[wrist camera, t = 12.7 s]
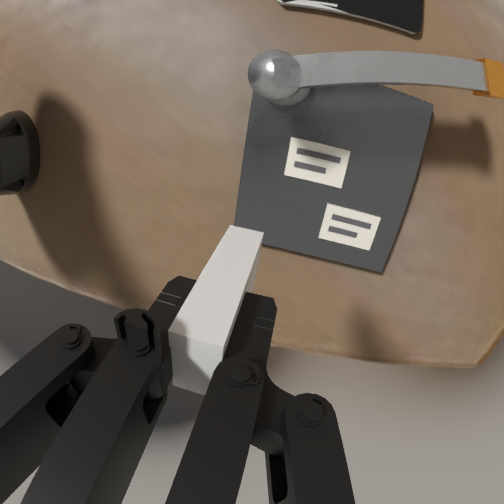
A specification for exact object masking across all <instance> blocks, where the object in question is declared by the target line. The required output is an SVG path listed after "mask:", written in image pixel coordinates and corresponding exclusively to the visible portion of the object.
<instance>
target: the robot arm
mask: <svg viewBox="0 0 504 504" xmlns="http://www.w3.org/2000/svg"><path fill="white" fill-rule="evenodd" d="M38 168H39V144H38V138H37V134H36V131H35V128H34V125H33V123H32V121H31V119H30V118H29V117H28V115H27V114H26V113H24V112H22V111H19V110H17V111H13V112H9V113H6V114H4V115H2V116H1V117H0V195H10V194H18V193H21V192H23V191H25V190H27V189H29V188H30V187H31V186H32V185H33V183H34V182H35V179H36V177H37V173H38ZM263 235H264V233H263V232H259V231H255V230H250V229H246V228H241V227H236V226H232V225H230V226H229V228H228V230H227V231H226V233H225V235H224V236H223V238H222V240H221V241H220V243H219V245H218V246H217V248H216V250H215V251H214V253H213V255H212V256H211V258H210V260H209V261H208V263H207V265H206V266H205V268H204V270H203V271H202V273H201V275H200V276H199V278H198V280H193V279H190V278H186V277H182V276H177V277H176V278H174V279H173V280H171V281H169V282H168V283H167V285H166V286H165V287H164V289H163V290H162V293H160V295H159V296H158V297H157V300H156V301H155V302H154V303H153V305H152V306H151V308H150V309H149V310H148V311H147V310H144V309H138V308H135V309H127V310H125V311H122V312H120V313H119V314H118V315H117V316H115V317H114V322H115V326H116V330H117V335H118V338H117V339H107V338H97V337H91V334H90V332H89V331H88V329H87V328H86V327H84V326H82V325H80V324H73V323H72V324H67V325H64V326H62V327H61V328H59V329H57V330H56V331H55V332H54V333H52V334H51V335H50V336H49V337H47V338H46V339H45V340H44V341H42V342H41V343H40V344H39V345H37V346H36V347H35V348H34V349H33V350H31V351H30V352H29V353H27V354H26V355H25V356H24V357H23V358H21V359H20V360H19V361H18V362H17V363H15V364H14V365H13V366H12V367H11V368H10V369H8V370H7V371H6V372H5V373H4V374H2V375H1V376H0V504H2V503H3V502H4V501H5V500H6V499H7V498H8V497H9V496H10V495H11V494H12V493H13V492H14V491H15V490H16V489H17V488H18V487H19V486H20V485H21V484H22V483H23V482H24V481H25V480H26V479H27V478H28V477H29V476H30V475H31V474H32V473H33V472H34V471H35V470H36V469H37V467H39V468H38V470H37V472H36V474H35V476H34V478H33V480H32V482H31V484H30V486H29V488H28V489H27V492H26V494H25V495H24V498H23V500H22V502H21V504H121V503H122V500H123V498H124V496H125V494H126V491H127V489H128V487H129V484H130V482H131V479H132V477H133V475H134V473H135V470H136V468H137V466H138V463H139V461H140V459H141V456H142V454H143V452H144V449H145V447H146V445H147V443H148V440H149V438H150V436H151V434H152V431H153V429H154V427H155V424H156V422H157V420H158V418H159V415H160V413H161V411H162V409H163V406H164V404H165V402H166V400H167V394H168V393H167V387H168V385H169V383H170V381H171V379H172V382H173V386H177V387H180V388H183V389H186V390H189V391H192V392H195V393H199V394H202V395H205V397H204V400H203V402H202V405H201V408H200V410H199V413H198V416H197V419H196V422H195V424H194V427H193V430H192V432H191V435H190V438H189V440H188V443H187V446H186V449H185V452H184V454H183V457H182V460H181V462H180V465H179V468H178V470H177V473H176V476H175V478H174V481H173V484H172V487H171V489H170V492H169V495H168V497H167V500H166V503H165V504H235V503H236V499H237V495H238V491H239V488H240V484H241V480H242V476H243V472H244V468H245V464H246V459H247V455H248V451H249V447H250V444H251V445H253V446H255V447H257V448H259V449H261V450H263V451H264V452H265V458H266V470H267V482H268V495H269V504H355V500H354V495H353V491H352V486H351V480H350V476H349V471H348V467H347V462H346V457H345V453H344V448H343V444H342V439H341V435H340V431H339V427H338V422H337V418H336V414H335V411H334V409H333V407H332V405H331V404H330V403H329V402H328V401H327V400H326V399H325V398H323V397H321V396H319V395H317V394H311V393H304V394H299V395H297V396H293V395H291V394H289V393H287V392H285V391H283V390H282V389H280V388H279V387H277V386H276V385H275V384H274V383H273V382H272V381H271V380H270V378H269V376H268V374H267V370H266V363H267V358H268V353H269V348H270V343H271V338H272V333H273V328H274V323H275V318H276V312H277V307H276V305H275V302H274V299H273V298H270V297H266V296H262V295H257V294H253V293H251V291H252V288H253V285H254V281H255V276H256V271H257V266H258V260H259V255H260V250H261V245H262V240H263ZM40 464H41V465H40ZM39 465H40V466H39Z"/></svg>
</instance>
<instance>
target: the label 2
mask: <svg viewBox="0 0 504 504" xmlns="http://www.w3.org/2000/svg"><path fill="white" fill-rule="evenodd" d="M380 219H381V218H380V217H377V216H374V215H370V214H367V213H363V212H359V211H356V210H352V209H348V208H344V207H340V206H336V205H333V204H329V203H327V207H326V211H325V214H324V218H323V222H322V226H321V229H320V233H319V237H318V238H321V239H325V240H329V241H333V242H337V243H341V244H345V245H349V246H353V247H357V248H361V249H365V250H370V248H371V245H372V242H373V239H374V237H375V234H376V231H377V228H378V225H379V222H380Z"/></svg>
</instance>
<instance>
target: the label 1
mask: <svg viewBox="0 0 504 504" xmlns="http://www.w3.org/2000/svg"><path fill="white" fill-rule="evenodd" d="M350 152H351V151H349V150H345V149H341V148H337V147H333V146H329V145H325V144H321V143H317V142H312V141H308V140H303V139H299V138H294V137H291V141H290V146H289V152H288V157H287V162H286V168H285V173H284V175H287V176H291V177H296V178H300V179H304V180H309V181H313V182H317V183H321V184H325V185H329V186H333V187H337V188H342V184H343V181H344V177H345V173H346V169H347V164H348V160H349V156H350Z"/></svg>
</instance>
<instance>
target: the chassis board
mask: <svg viewBox="0 0 504 504" xmlns="http://www.w3.org/2000/svg"><path fill="white" fill-rule="evenodd" d="M432 110H433V104H431V103H428V102H426V101H423V100H421V99H418V98H416V97H413V96H410V95H408V94H405V93H402V92H399V91H396V90H394V89H391V88H388V87H385V86H381V85H378V84H372V85H343V86H327V87H315V88H305V89H300V91H299V92H298V93H297V94H296V95H294V96H293V97H291V98H289V99H285V100H274V99H268V98H265V97H263V96H261V95H259V94H258V93H256V92H255V91H254V89H253V96H252V102H251V109H250V115H249V122H248V128H247V135H246V142H245V149H244V156H243V163H242V170H241V177H240V184H239V192H238V199H237V207H236V214H235V222H234V226H236V227H241V228H246V229H250V230H255V231H259V232H263V233H264V235H263V240H262V244H265V245H269V246H274V247H278V248H282V249H286V250H290V251H295V252H299V253H303V254H307V255H311V256H315V257H320V258H324V259H328V260H332V261H336V262H340V263H344V264H348V265H352V266H357V267H361V268H365V269H369V270H373V271H377V272H382V269H383V267H384V265H385V262H386V260H387V257H388V255H389V252H390V250H391V247H392V245H393V242H394V239H395V237H396V234H397V231H398V229H399V226H400V223H401V220H402V218H403V215H404V212H405V209H406V206H407V203H408V200H409V197H410V194H411V191H412V187H413V184H414V181H415V178H416V174H417V171H418V167H419V164H420V160H421V156H422V153H423V149H424V145H425V141H426V137H427V133H428V129H429V124H430V120H431V115H432ZM291 137H294V138H299V139H303V140H308V141H312V142H317V143H321V144H325V145H329V146H333V147H337V148H341V149H345V150H349V151H351V152H350V156H349V160H348V164H347V169H346V173H345V177H344V181H343V184H342V188H337V187H333V186H329V185H325V184H321V183H317V182H313V181H309V180H304V179H300V178H296V177H291V176H287V175H284V173H285V168H286V162H287V157H288V152H289V146H290V141H291ZM327 203H329V204H333V205H336V206H340V207H344V208H348V209H352V210H356V211H359V212H363V213H367V214H370V215H374V216H377V217H380V218H381V219H380V222H379V225H378V228H377V231H376V234H375V237H374V239H373V242H372V245H371V248H370V250H365V249H361V248H357V247H353V246H349V245H345V244H341V243H337V242H333V241H329V240H325V239H321V238H318V237H319V233H320V229H321V226H322V222H323V218H324V214H325V211H326V207H327Z"/></svg>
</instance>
